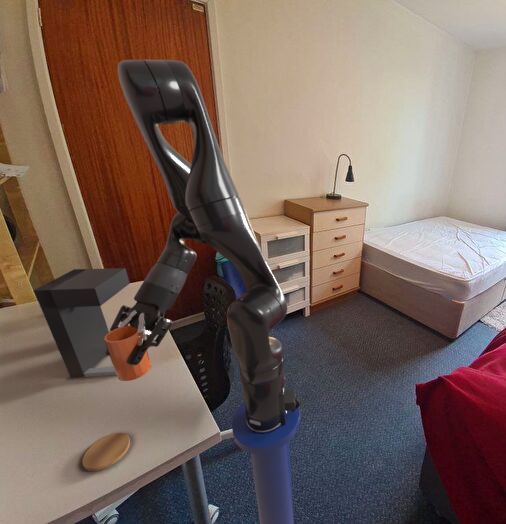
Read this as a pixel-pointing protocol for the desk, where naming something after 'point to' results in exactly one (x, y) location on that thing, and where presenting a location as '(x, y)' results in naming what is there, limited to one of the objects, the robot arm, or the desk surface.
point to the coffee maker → (81, 316)
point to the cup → (125, 353)
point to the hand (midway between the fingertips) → (121, 359)
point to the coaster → (106, 452)
